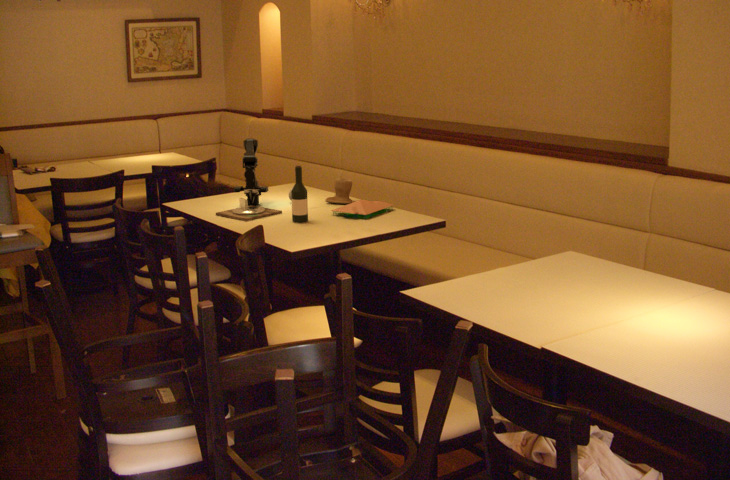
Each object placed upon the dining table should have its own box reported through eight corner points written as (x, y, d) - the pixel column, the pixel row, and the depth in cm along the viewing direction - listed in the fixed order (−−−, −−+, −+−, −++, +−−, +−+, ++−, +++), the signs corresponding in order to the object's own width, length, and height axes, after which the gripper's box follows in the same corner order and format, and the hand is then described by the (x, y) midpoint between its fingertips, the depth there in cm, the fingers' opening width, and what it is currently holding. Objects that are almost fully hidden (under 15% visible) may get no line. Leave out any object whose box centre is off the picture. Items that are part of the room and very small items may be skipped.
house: (328, 217, 406) (327, 202, 404) (360, 206, 433) (360, 192, 431) (363, 221, 394) (363, 206, 392) (394, 210, 421) (394, 196, 419)
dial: (226, 210, 418) (225, 199, 417) (255, 206, 428) (255, 196, 426) (241, 216, 400) (240, 205, 399) (271, 212, 409) (271, 202, 408)
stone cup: (355, 202, 445) (355, 177, 441) (348, 205, 434) (347, 180, 431) (332, 200, 450) (332, 176, 447) (324, 204, 440) (324, 179, 436)
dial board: (251, 207, 432) (251, 204, 432) (281, 213, 416) (281, 210, 415) (215, 215, 413) (215, 212, 413) (246, 221, 396) (246, 218, 396)
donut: (302, 201, 449) (302, 185, 447) (305, 202, 446) (304, 185, 444) (287, 203, 444) (287, 186, 442) (290, 204, 442) (289, 187, 439)
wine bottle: (292, 219, 399) (290, 164, 391) (308, 219, 399) (306, 164, 392) (292, 223, 391) (290, 166, 383) (308, 222, 391) (306, 166, 384)
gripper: (270, 174, 424) (271, 201, 428) (238, 174, 426) (239, 201, 430) (265, 177, 413) (266, 205, 417) (232, 177, 415) (234, 205, 419)
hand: (251, 204), depth 421 cm, fingers closed
